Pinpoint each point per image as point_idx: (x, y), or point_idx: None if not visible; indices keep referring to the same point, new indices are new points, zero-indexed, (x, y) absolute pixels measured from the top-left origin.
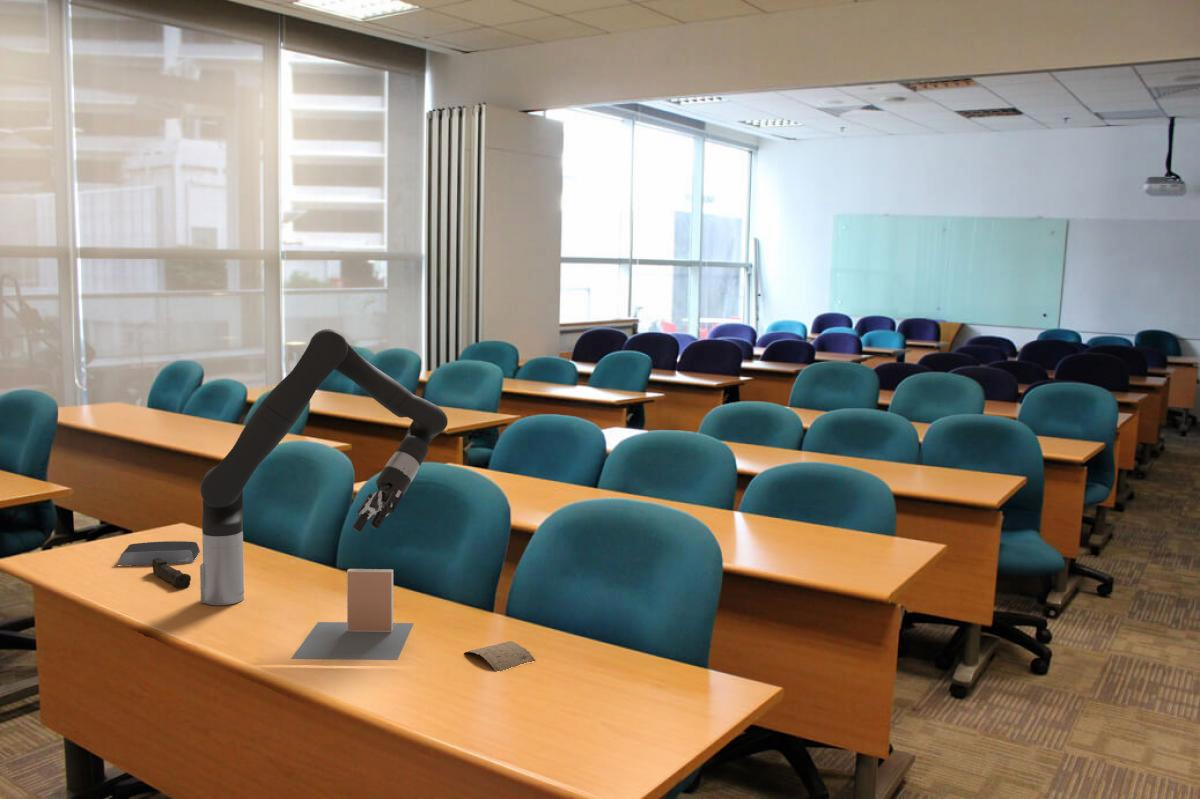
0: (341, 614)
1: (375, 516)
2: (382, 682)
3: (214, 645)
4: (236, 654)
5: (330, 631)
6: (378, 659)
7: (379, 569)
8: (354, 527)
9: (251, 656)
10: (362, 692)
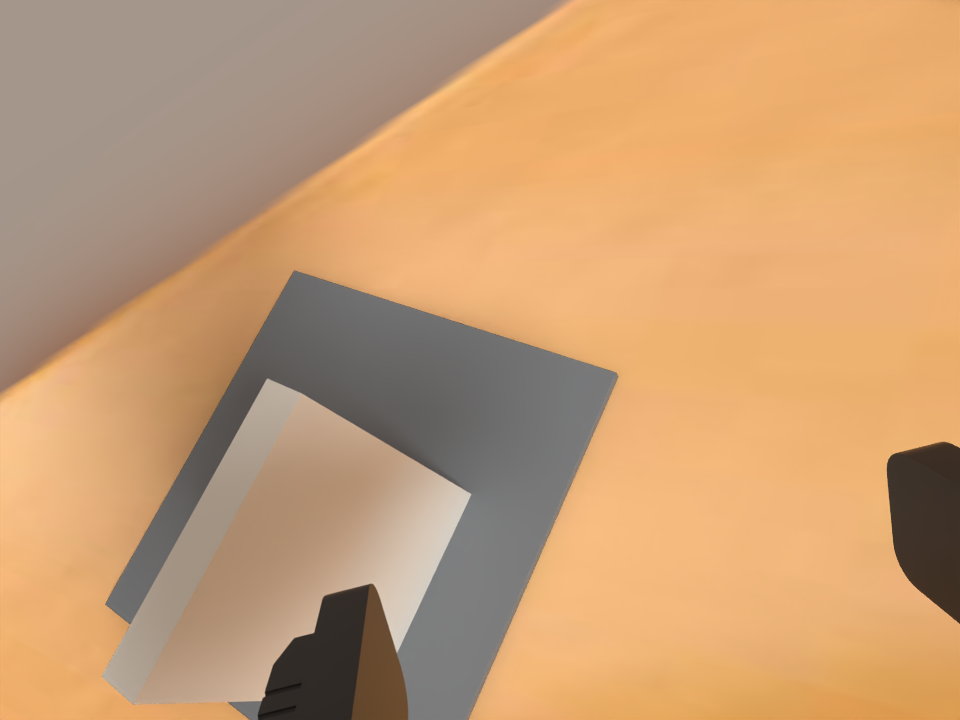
0: (730, 503)
1: (303, 688)
2: (30, 515)
3: (532, 52)
4: (426, 124)
5: (473, 413)
6: (142, 539)
7: (186, 600)
8: (893, 464)
9: (390, 165)
10: (18, 448)
